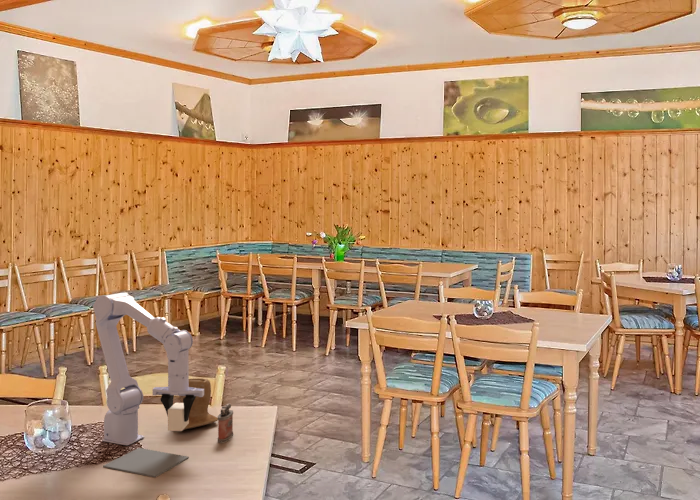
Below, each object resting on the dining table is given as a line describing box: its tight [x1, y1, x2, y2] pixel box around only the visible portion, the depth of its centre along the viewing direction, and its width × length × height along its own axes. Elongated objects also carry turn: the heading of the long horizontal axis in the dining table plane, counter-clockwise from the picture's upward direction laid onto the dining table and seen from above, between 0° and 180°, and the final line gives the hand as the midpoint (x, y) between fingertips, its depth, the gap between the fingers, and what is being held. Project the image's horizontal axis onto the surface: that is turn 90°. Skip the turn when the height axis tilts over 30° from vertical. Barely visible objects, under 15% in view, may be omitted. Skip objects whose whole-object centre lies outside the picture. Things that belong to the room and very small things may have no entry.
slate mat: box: [103, 447, 190, 478], centre depth 197 cm, size 17×15×1 cm
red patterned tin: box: [217, 403, 234, 443], centre depth 217 cm, size 8×3×10 cm, turn 168°
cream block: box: [167, 402, 189, 432], centre depth 205 cm, size 4×7×6 cm, turn 176°
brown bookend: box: [179, 377, 218, 431], centre depth 228 cm, size 15×12×15 cm
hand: (178, 420), depth 206 cm, fingers closed on cream block, 4 cm apart
